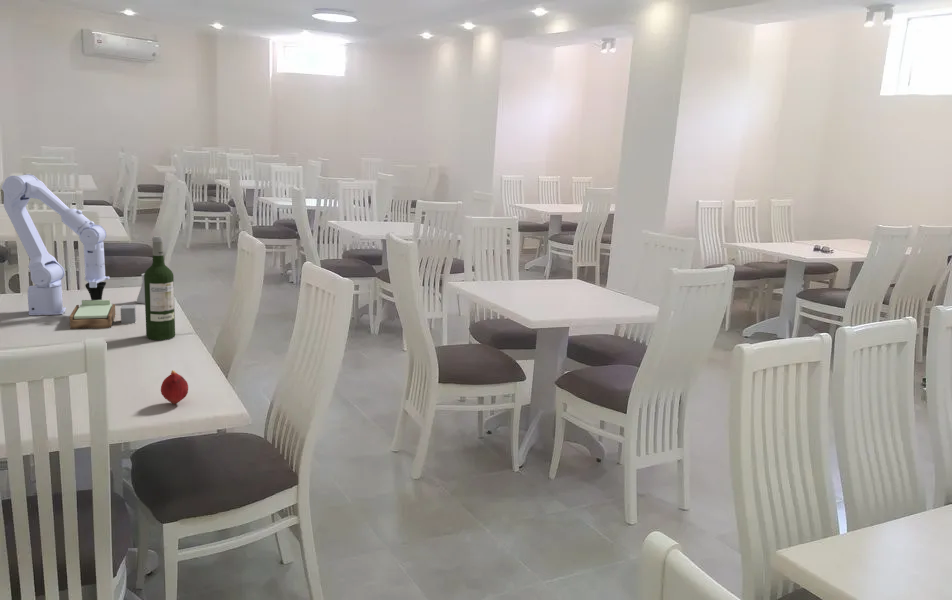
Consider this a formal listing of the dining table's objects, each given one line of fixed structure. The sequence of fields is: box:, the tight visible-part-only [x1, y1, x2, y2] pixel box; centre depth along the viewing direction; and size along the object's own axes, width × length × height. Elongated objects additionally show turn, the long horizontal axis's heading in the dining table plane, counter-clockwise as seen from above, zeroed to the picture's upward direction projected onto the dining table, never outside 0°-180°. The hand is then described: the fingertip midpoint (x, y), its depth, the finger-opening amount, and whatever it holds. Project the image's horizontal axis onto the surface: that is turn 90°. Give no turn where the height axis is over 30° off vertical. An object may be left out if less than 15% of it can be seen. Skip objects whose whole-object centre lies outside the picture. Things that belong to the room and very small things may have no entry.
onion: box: [160, 370, 189, 405], centre depth 168 cm, size 6×6×8 cm
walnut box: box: [69, 303, 116, 330], centre depth 229 cm, size 11×15×4 cm
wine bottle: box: [143, 235, 176, 341], centre depth 215 cm, size 8×8×30 cm
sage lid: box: [74, 299, 113, 319], centre depth 230 cm, size 9×15×2 cm, turn 21°
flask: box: [136, 272, 145, 305], centre depth 257 cm, size 7×7×10 cm
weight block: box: [120, 304, 137, 325], centre depth 232 cm, size 4×4×5 cm
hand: (96, 305), depth 238 cm, fingers closed
